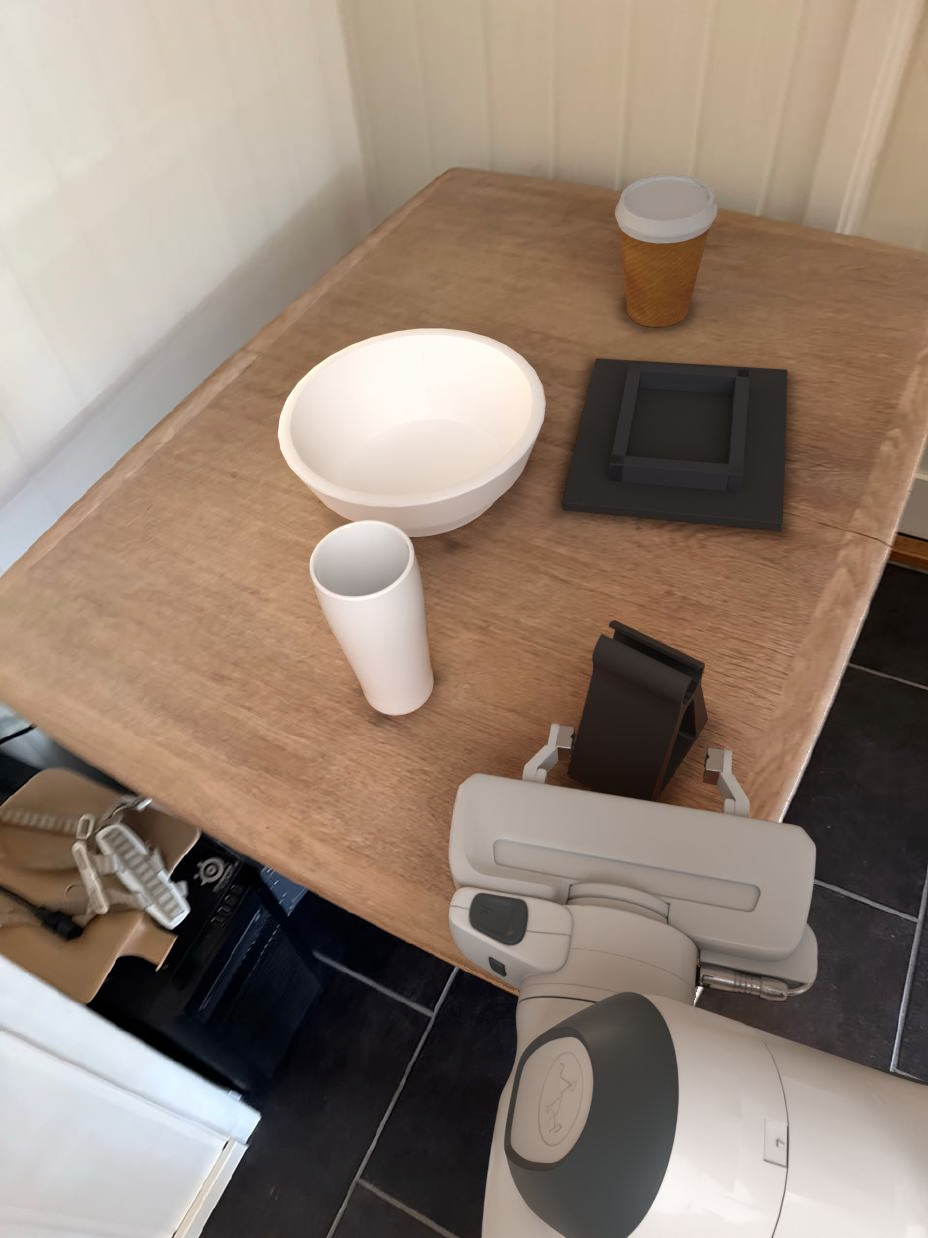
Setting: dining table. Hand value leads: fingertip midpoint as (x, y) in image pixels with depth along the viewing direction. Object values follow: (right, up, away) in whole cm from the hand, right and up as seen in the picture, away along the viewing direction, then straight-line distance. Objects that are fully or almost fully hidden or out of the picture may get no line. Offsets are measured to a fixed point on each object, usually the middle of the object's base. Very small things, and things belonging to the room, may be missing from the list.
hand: (639, 740), depth 54 cm
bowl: (-15, +20, +26) cm, 36 cm away
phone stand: (+1, -2, +7) cm, 7 cm away
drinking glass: (-16, +2, +12) cm, 20 cm away
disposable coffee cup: (+9, +40, +38) cm, 56 cm away
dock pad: (+9, +24, +25) cm, 36 cm away
